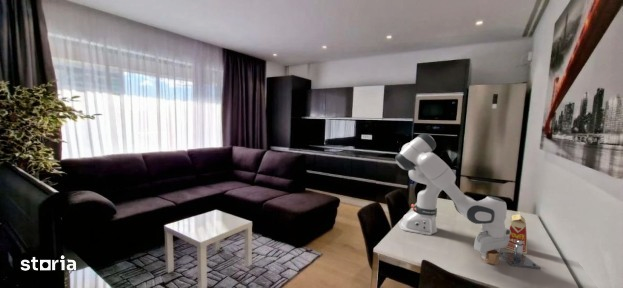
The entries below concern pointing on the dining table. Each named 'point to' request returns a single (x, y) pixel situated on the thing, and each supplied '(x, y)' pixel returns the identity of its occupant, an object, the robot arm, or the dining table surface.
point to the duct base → (518, 262)
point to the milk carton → (517, 233)
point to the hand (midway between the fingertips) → (489, 257)
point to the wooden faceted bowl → (492, 257)
